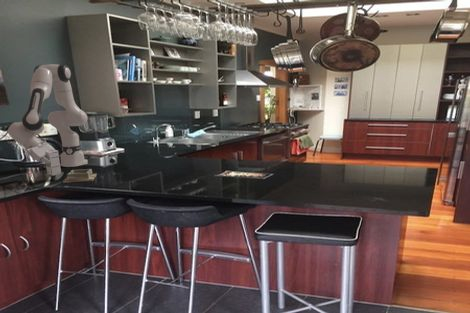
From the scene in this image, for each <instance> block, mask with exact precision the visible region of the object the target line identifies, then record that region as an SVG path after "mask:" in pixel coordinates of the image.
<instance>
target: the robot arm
mask: <svg viewBox="0 0 470 313" xmlns="http://www.w3.org/2000/svg"><path fill="white" fill-rule="evenodd" d="M32 75H33V76H32V78H31V83H30V88H29V89H30V91H29V92H30V101H29V104H28V110H27V111H26V113H24V115H23V117H22V118H21V121H14V122H12V123H11V124H10V125H9V127H8V128H7V134H8V135H9V137H11V138H12V139H13V140H14V141H15V142H16V143H17V144H20V145H21V146H22V147H23V149H25V151H26V153H27V154H28V155H29V156H30V157H31V158H32V159H33V161H35V162H38V161H40V160H41V161H42V162H44V163H45V162H46V163H47V164H49V163H50V162H51V161H50V160H48V159H46V158H45V157H44V156H46V155H47V154H46V153H45V151H47V150H56V149H55V148H54V147H53V146H52V145H51V144H50V143H48V142H47V140H46V139H45V138H44V139H43V138H39V137H37V136H38V135H40V134H41V133H43V131H44V129H45V125H44V119H43V115H42V109H43V105H44V101H45V100H47V99H48V98H49V97H50V95H51V93H52V89H53V94H54V100H55V102H56V103H57V104H58V105H59V106H60V107H63V108H64V110H55V111H51V112H50V113H49V114H48V115H47V122H48V123H49V125H50V126H52V127H54V128H55V129H56V130H57V132H58V133H59V135H60V140H61V144H62V146H61V151H62V152H61V153H60V167H65V168H70V167H71V168H72V167H73V168H75V167H79V166H84V165H88V159H86V157H85V156H84V155H85V154H84V152H83V151H82V147H81V146H82V145H81V144H80V136H79V134H78V133H77V132H76V131H73V130H72V129H71V127H81V126H84V125H86V124H87V122H88V118H89V117H88V115H87V113H86V112H85V111H84V110H82V109H80V107H79V106H78V105H77V104H76V102H75V98H74V94H73V89H72V85H71V82H70V79H71V77H72V71H71V69H70V68H69V66H68V65H65V64H56V63H55V64H54V63H50V64H39V65H36V66H35V67H34V69H33V74H32ZM46 163H45V164H46Z"/></svg>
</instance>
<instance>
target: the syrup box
mask: <svg viewBox="0 0 470 313" xmlns="http://www.w3.org/2000/svg"><path fill="white" fill-rule="evenodd" d="M45 153H46V154H47V155H46V156H44V157H45V158H46V159H48V160H50V161H51V162H50V163H49V164H47V163H46V162H44V163H45V169H46V175H47V176H52V177H53V176H58V175H60V174H62V169H61V166H60V164H61V161H60V156H59V155H60V154H59V150H58V149H57V150H56V149H55V150H47V151H45Z"/></svg>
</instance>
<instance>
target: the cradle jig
mask: <svg viewBox="0 0 470 313" xmlns="http://www.w3.org/2000/svg"><path fill="white" fill-rule="evenodd" d="M97 174H98V173H93V170H92V168H87V169H86V168H85V169H82V168H81V169H71V171H70V172H68V173H67V174H66V177H65V179H64V180H63V181H62V183H64V184H65V183H66V184H67V183H80V182H82V183H83V182H92V181H94V180H95V178H96V177H97Z"/></svg>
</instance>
